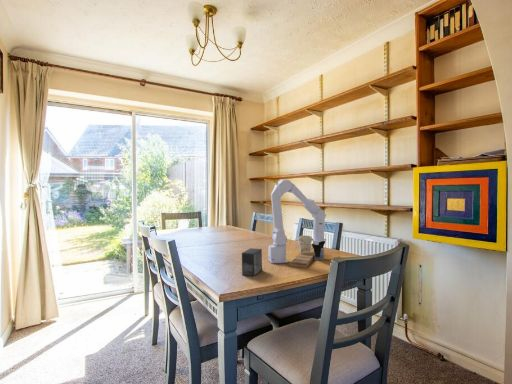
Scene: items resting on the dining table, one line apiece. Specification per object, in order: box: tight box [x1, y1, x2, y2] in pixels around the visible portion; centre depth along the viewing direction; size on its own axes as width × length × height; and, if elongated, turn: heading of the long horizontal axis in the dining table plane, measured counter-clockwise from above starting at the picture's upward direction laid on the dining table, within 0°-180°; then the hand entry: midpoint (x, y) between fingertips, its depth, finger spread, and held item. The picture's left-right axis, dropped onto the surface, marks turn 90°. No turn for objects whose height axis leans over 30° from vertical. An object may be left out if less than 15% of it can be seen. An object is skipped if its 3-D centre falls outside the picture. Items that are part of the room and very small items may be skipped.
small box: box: [241, 247, 263, 277], centre depth 135 cm, size 11×6×10 cm, turn 159°
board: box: [290, 252, 314, 269], centre depth 154 cm, size 24×8×2 cm, turn 158°
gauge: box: [301, 247, 325, 262], centre depth 160 cm, size 4×12×6 cm, turn 70°
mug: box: [297, 235, 315, 254], centre depth 175 cm, size 8×13×10 cm, turn 127°
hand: (318, 255), depth 158 cm, fingers open, 7 cm apart
